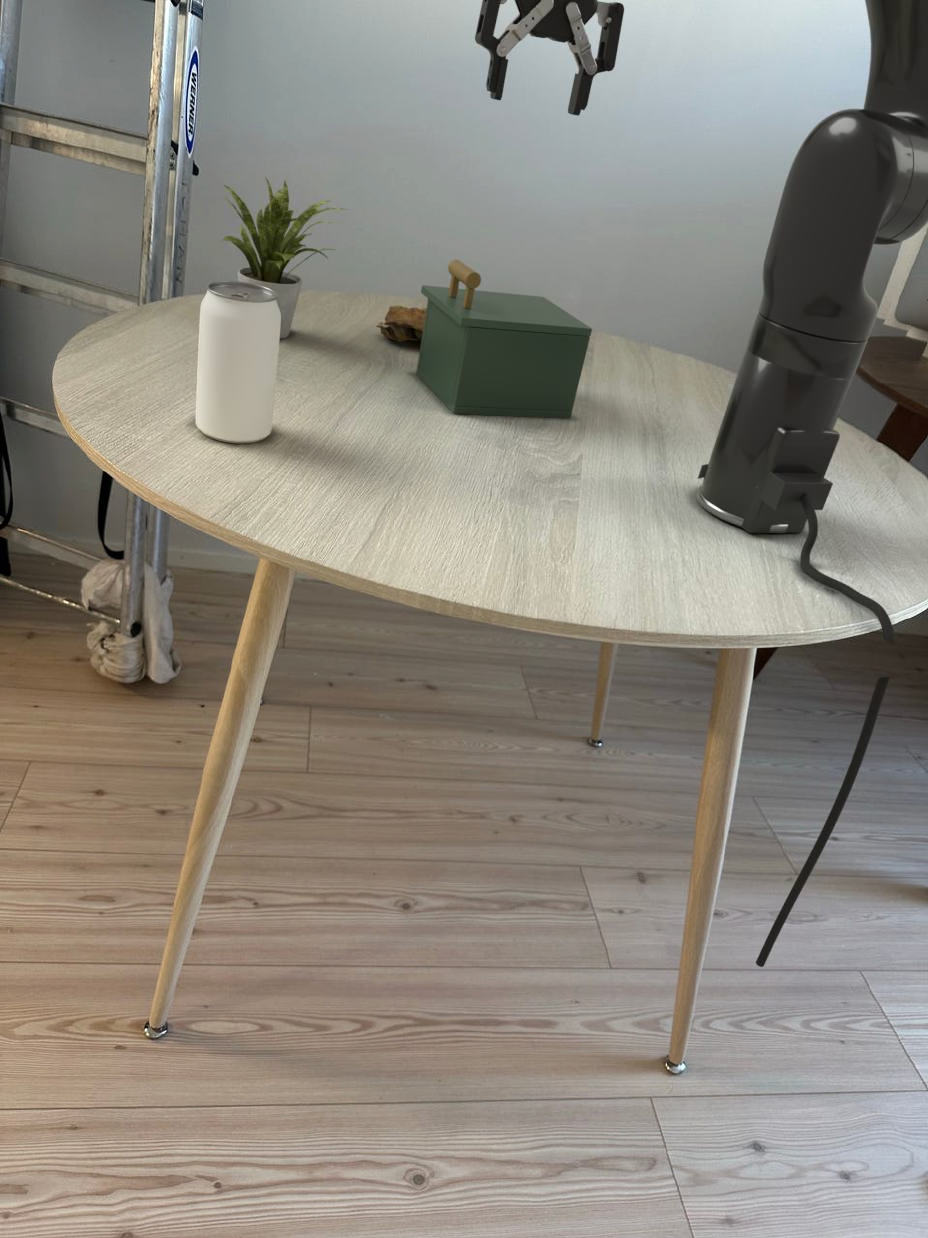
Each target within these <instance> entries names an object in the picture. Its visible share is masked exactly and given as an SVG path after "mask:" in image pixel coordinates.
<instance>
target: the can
mask: <svg viewBox="0 0 928 1238" xmlns="http://www.w3.org/2000/svg"><path fill="white" fill-rule="evenodd" d="M206 289H207V291H206V293H205V295H204V297H203V299H202V301H201V303H200V307H199V308H200V309H199V325H198V346H197V347H198V348H197V349H198V350H197V370H196V393H195V426H196V428H198V430H199V431H200V432H201V434H203V435H204V436H206V437H208V438H209V439H212V440H215V441H219V442H223V443H229V444H240V445H241V444H243V445H244V444H245V445H246V444H254V443H258V442H262V441H264V440H265V439H266V438H267V437H268V436H269V435H271V433H272V429H273V419H274V411H275V397H276V387H277V375H278V362H279V361H278V360H279V352H280V351H279V350H280V339H281V338H280V326H281V313H280V310H279V307H278V305H277V301H276V299H277V297H278V295H277V293H276V292H275V291H273V290H271V289H269V288H266V287H264V286H260V285H256V284H252V283H247V282H240V281H238V280H215V281H211V282H208V283H207V284H206Z"/></svg>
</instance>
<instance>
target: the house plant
mask: <svg viewBox="0 0 928 1238" xmlns="http://www.w3.org/2000/svg"><path fill="white" fill-rule="evenodd" d="M264 177H265V181H266V185H267V190H268V195H269V203H268V204H267V205H266V206H265V208H264V211H263V209H262V208H261V209H260V210H259V211H258V213H257V216H256V224H255V221H254V219H253V217H252V214H251V212H250V210H249V208H248V206H247V205H246V203H245V202H244V200H243V199H242V198H241V197H240V196H239V195H238V194H237V193H236V192H235V191H234V190H233V189H232V188H231V187H229V186H227V185H226V184H225V183H222V185H223V186H224V187H225V188H226V190H228V192H229V193H230V194H231V196H232V198H233V199H234V201H235V203H236V204H237V207H238V208H239V210H238V209H237V207H236V206H235V205H234V204H233V202H232V201H231V200H230V199H228V198H227V197H226V196H224V198H225V200H226V201H228V203H229V204H230V205H231V207H233V209H234V210H235V211H236V214H237V215H238V217H239V218H240V219H241V220H242V222H243V224H242V223H241V224H240V237H241V239H240V238H238V237H235V236H232V235H228V236H225V237H223V238H221V240H220V241H219V243H221V242H223V241H225V242H226V241H227V242H231V243H232V244H233V245H234V246H236V248H237V249H239V251H241V253H242V254H243V255H244V257H245V258H246V261H247V262H248V265H249V266H245V267H241V268H239V269H238V270H237V281H240V282H247V283H252V284H256V285H260V286H264V287H266V288H269V289H271V290H273V291H275V292H276V293H277V295H278V297H277V299H276V301H277V305H278V307H279V310H280V313H281V326H280V339H285V338H288V337H289V335H290V332H291V328H292V324H293V319H294V317H295V312H296V308H297V304H298V301H299V297H300V293H301V288H302V285H303V279H302V278H301V277H300V276H298V275H296V274H294V273H291V272H292V271H293V270H295V269H296V268H297V267H298V266H299V265H301V264H302V263H303V262H305V261H307V260H308V259H309V258H310V257H312V256H313V255H316V254H317V253H318V254H321V255H322V256H323V257H325V258H326V259H328V256H327V255H326V254H324V253H323V252H322V251H335V249H333V248H322V249H319V250H318V249H317V248H312V247H311V248H310V247H307V246H306V244H302V243H301V242H302V241H303V240H304V239H305V238H306V237H308V236H312V233H306V232H307V230H309V229H310V228H311V227H313V226H315V225H318V224H322V223H323V224H325V223H326V224H332V222H330V221H326V220H318V221H316V222H314V223H312V224H310V225H308V227H306V229H305V230H304V231H303V232H302V233H301V234H300V235H299V233H300V232H301V230H302V229H303V227H304V226H305V225H306V224H307V223H308V221H310V220H311V219H312V218H313V217H315V216H317V215H318V214H320V213H323V212H325V211H329V210H339V211H340V210H345V211H347V210H348V209H347V208H342V207H326V208H321V209H319V208H320V207H321V206H322V205H325V204H328V203H329V202H330V203H331V200H323V201H318V202H316V203H313V204H312V205H310V206H308V208H306V209H305V210H304V211H303V212H302V213H300V215H298V217H294V218H293V215H294V212H297V213H298V212H299V210H297V209H294V210H292V209H290V196H289V195H290V194H289V186H288V183H287V182H286V179H284V181H283V186H282V188H281V189H279V190H278V191H277V192H276V193H275V194H274V193H273V190H272V186H271V183H270V181H269V180H268V178H267V176H264ZM239 211H240V212H239ZM292 222H293V223H292ZM291 223H292V225H291ZM290 225H291V226H290ZM245 226H246V227H245ZM289 227H290V228H289ZM246 228H247V230H248V233H249V234H250V237H251V240H252V242H251V240H250V237H249V235H248V233H247V230H246ZM287 230H288V231H287ZM298 235H299V236H298ZM252 243H253V244H252ZM253 245H254V246H253ZM303 247H304V248H303ZM304 252H305V253H306V252H313V253H311V254H310V255H308V257H306V258H304V260H302V261H301V262H299V263H298V264H296V265H295V266H294V267H292V269H291V270H290V271H286V270H285V268H286V267H287V266H288V264H289V263H290V261H291V260H293V259H294V258H295V257H296V256H298V255H299V254H301V253H304Z"/></svg>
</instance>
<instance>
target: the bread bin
mask: <svg viewBox="0 0 928 1238" xmlns="http://www.w3.org/2000/svg"><path fill="white" fill-rule="evenodd" d="M426 308H427V309H426V315H425V322H424V328H423V334H422V340H420V341H421V342H420V347H419V354H418V360H417V366H416V372H415V375H416V377H418V378H419V380H421V381H422V383H423V384H424V385H425V386H426V387H427V388H428V389H429V390H430V391H431V392H432V393H433V394H434V395H435V396H436V397H437V398H438V399H439V400H440V402H442V403H443V405H444V406H445V407H447V409H448V410H449V411H450V412H451V413H452V414H453V415H477V416H498V417H499V416H501V417H505V416H506V417H525V418H526V417H527V418H547V419H548V418H549V419H550V418H551V419H552V418H553V419H571V417H572V411H573V408H574V405H575V401H576V397H577V393H578V389H579V383H580V379H581V377H582V372H583V367H584V363H585V359H586V356H587V352H588V347H589V344H590V343H589V342H590V339H591V336H581V335H568V334H555V333H543V332H530V331H518V330H505V329H493V328H480V327H468V326H460V325H459V324H458V323H457V322H456V321H454V320H453V319H452V318H451V317H450V316H448V315H447V314H446V313H445V312H444V311H442V310H441V309H440V308H439V307H438V306H436V305H435V304H434V303H433V302H432V301H430V300H429V299H428V298H427V303H426Z"/></svg>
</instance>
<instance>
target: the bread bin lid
mask: <svg viewBox="0 0 928 1238" xmlns="http://www.w3.org/2000/svg"><path fill="white" fill-rule="evenodd" d="M447 271H448V273H449V274H450V275H451V278H450V283H449V287H446V286H445V287H444V286H436V285H435V286H434V285H425V284H422V285H421V290H420V293H421V294H422V295H423V296H424V297H426V298H427V300H428V299H429V300H430V301H432V302H433V303H434V304H435V305H436V306H438V307H439V308H440V309H441V310H442V311H444V312H445V313H446V314H447V315H448V316H450V317H451V318H452V319H453V320H454V321H456V322H457V323H458V324H459V325H460V326H468V327H480V328H493V329H505V330H518V331H530V332H543V333H555V334H568V335H581V336H589V337H591V335H592V332H593V328H592V327H590V326H588V325H587V324H586V323H584V322H583V321H581V320H579V319H578V318H577V317H575V316H574V315H572V314H570V313H568V311H566V310H564V309H563V308H561V307H560V306H559V305H557V304H555V303H554V302H553V301H550V299H547V298H546V297H544V296H538V295H529V294H518V293H508V292H496V291H486V290H476V289H477V288H478V287H479V286H480V285H481V283H482V277H481V275H480V274H479V273H478V272H477V271H475V270H474V269H473V268H471V267H470V266H468V265H467V264H465V263H464V262H463V261H462V260H459V259H453V260H451V261H450V262H449V264H448V267H447ZM460 283H462V284H463V285H464V286H465V288H459V286H460Z"/></svg>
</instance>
